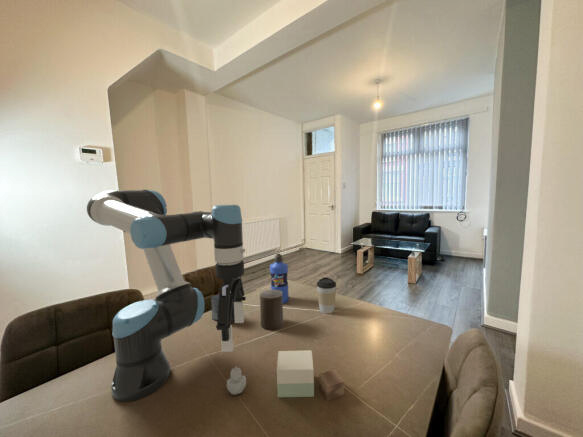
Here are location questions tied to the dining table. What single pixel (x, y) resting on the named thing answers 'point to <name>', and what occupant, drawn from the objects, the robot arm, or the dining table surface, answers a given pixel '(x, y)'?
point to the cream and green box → (295, 374)
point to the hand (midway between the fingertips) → (234, 335)
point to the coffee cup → (326, 294)
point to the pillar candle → (271, 309)
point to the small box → (215, 308)
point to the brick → (331, 384)
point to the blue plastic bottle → (279, 277)
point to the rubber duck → (236, 381)
